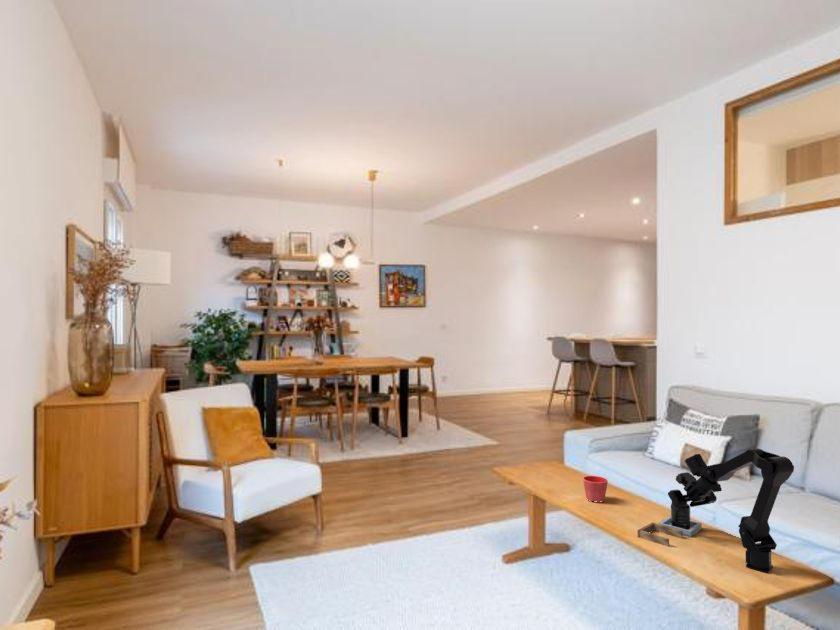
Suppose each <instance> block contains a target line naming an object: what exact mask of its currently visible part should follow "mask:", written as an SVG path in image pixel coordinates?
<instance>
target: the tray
mask: <svg viewBox="0 0 840 630" xmlns="http://www.w3.org/2000/svg"><path fill="white" fill-rule="evenodd" d="M657 524H660V525H664V526H667V527H670V528H674V529H677V530H681V531H682V536H685V537H687V538H692V537H693V536H695V535H696V534H697V533H698V532H700V531H701V530H702V527H703V526H702V525H703V524H702V523H701V522H697V521H694V520H690V529H688V530H686V529H682V528H679V527H675V526H672V525H671V515H669V516H667V517H665V518H664V519H663V520H661V521H660V522H658V523H657Z"/></svg>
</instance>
